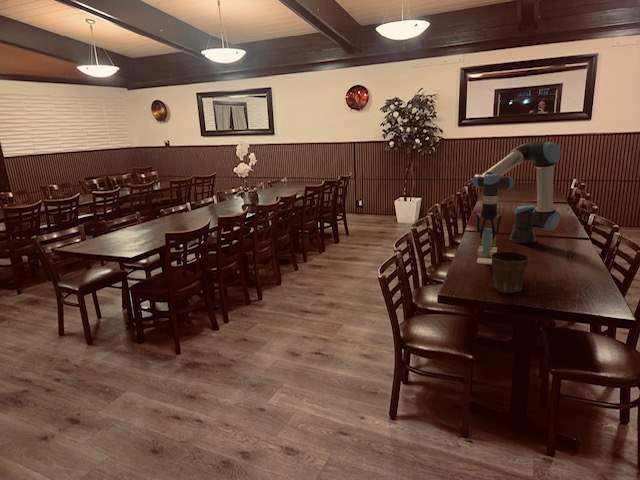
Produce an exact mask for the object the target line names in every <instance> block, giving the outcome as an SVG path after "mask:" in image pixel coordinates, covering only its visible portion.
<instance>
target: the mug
mask: <svg viewBox="0 0 640 480" xmlns="http://www.w3.org/2000/svg"><path fill="white" fill-rule="evenodd" d="M496 242H497V238H496V237H495V239H492V245H491V246H490V247H496ZM479 246H483V245H482V238H480V237H479Z"/></svg>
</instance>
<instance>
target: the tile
mask: <svg viewBox="0 0 640 480" xmlns="http://www.w3.org/2000/svg"><path fill="white" fill-rule="evenodd" d="M476 264H479V265H481V264H482V265H491V266H493V265H492V258H483V257H477V260H476Z"/></svg>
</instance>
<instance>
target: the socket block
mask: <svg viewBox="0 0 640 480" xmlns="http://www.w3.org/2000/svg"><path fill="white" fill-rule="evenodd" d="M482 251H483V246H480V245H479V246H478V249H477V258H489V259H492V258H491V254H492V253H495V252H498V247H496V246H495V247H490V254H482Z"/></svg>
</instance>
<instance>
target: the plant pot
mask: <svg viewBox="0 0 640 480" xmlns="http://www.w3.org/2000/svg"><path fill="white" fill-rule="evenodd" d="M490 259H492V265H491V266H492V274H493V275H492V276H493V277H492V278H493V288H494V290H497V291H498V292H501V293H504V294H505V293H506V294H514V293H520V292H521V291H522V290H523V284H524V279H525V274H526V273H525V272H526V268H527V266H528V261H529V260H530V257H529V256H528V255H527V254H525V253H521V252H515V251H497V252H495V253H492V254H491V258H490Z"/></svg>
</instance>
